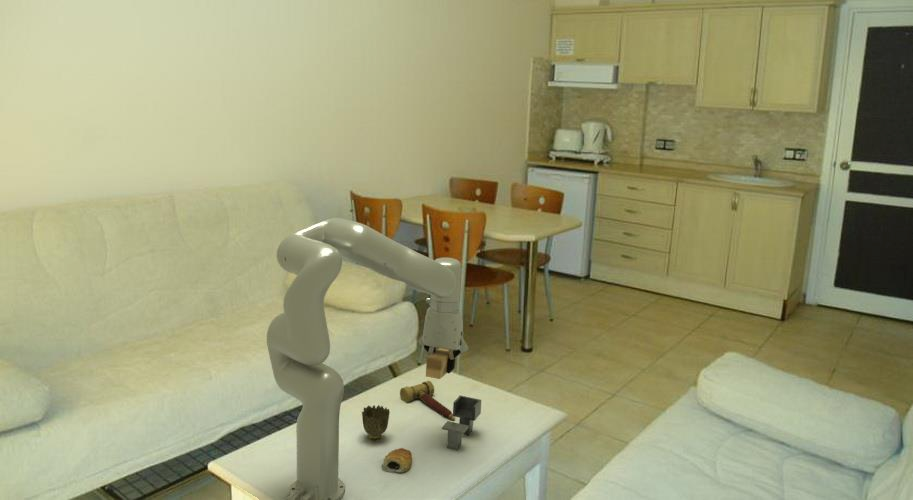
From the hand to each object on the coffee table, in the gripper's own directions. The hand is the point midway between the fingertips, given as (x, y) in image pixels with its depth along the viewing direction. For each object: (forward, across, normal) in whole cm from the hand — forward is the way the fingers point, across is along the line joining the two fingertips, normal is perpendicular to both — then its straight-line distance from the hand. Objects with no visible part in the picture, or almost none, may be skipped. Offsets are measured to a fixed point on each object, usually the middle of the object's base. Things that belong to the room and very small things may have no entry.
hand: (441, 369), depth 192 cm
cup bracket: (+20, +6, +5) cm, 21 cm away
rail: (0, 0, -1) cm, 1 cm away
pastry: (+20, -4, -19) cm, 28 cm away
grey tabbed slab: (+19, +6, -4) cm, 21 cm away
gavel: (+20, -8, +15) cm, 27 cm away
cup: (+20, -15, -9) cm, 26 cm away
